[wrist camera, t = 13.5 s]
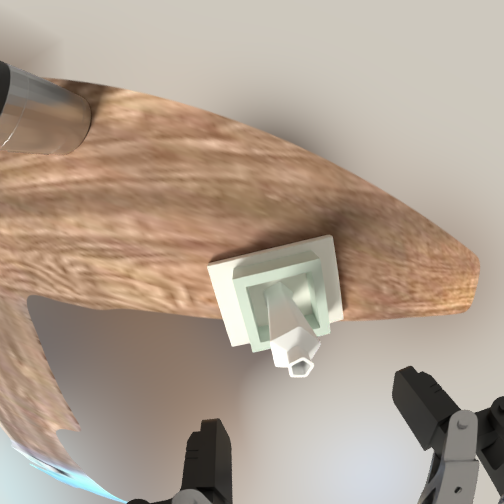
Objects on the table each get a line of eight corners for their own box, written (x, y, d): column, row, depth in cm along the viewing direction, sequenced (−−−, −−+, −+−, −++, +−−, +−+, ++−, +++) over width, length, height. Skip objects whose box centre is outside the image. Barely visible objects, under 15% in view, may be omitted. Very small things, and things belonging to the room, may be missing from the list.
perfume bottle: (268, 274, 34) (287, 337, 19) (299, 286, 34) (335, 352, 20) (253, 305, 35) (261, 381, 20) (283, 316, 35) (308, 392, 21)
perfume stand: (232, 341, 38) (231, 363, 32) (208, 263, 35) (202, 276, 29) (340, 314, 37) (353, 332, 32) (329, 234, 34) (343, 243, 29)
